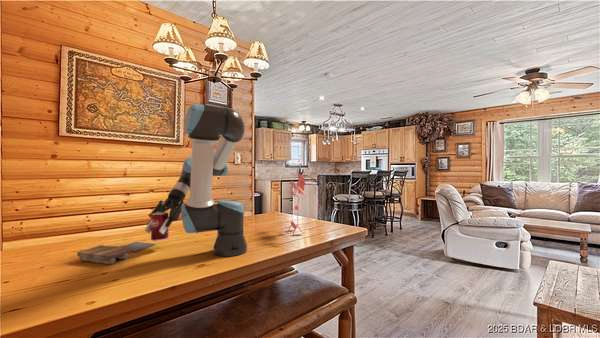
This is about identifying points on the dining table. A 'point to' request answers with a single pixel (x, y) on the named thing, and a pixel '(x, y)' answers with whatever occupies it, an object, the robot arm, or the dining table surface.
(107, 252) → the slab on rollers
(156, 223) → the soda can
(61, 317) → the dining table surface
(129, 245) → the mat
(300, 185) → the figurine
